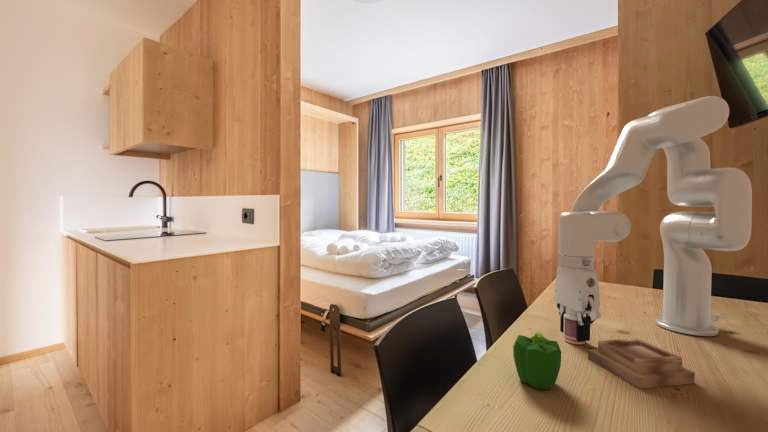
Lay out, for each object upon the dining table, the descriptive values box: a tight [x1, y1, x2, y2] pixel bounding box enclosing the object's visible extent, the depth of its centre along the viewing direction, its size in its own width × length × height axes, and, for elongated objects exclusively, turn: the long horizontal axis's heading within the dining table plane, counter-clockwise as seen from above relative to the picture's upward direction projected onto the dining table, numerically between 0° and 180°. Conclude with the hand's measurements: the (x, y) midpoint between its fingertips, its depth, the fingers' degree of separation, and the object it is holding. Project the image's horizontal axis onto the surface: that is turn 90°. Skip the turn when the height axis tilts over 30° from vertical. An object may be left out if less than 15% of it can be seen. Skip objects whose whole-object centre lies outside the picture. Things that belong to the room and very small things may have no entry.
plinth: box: [587, 337, 696, 390], centre depth 67 cm, size 12×12×4 cm
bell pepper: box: [512, 331, 562, 391], centre depth 62 cm, size 8×8×10 cm
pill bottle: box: [563, 307, 587, 346], centre depth 81 cm, size 5×5×8 cm
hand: (574, 335), depth 81 cm, fingers closed on pill bottle, 4 cm apart
